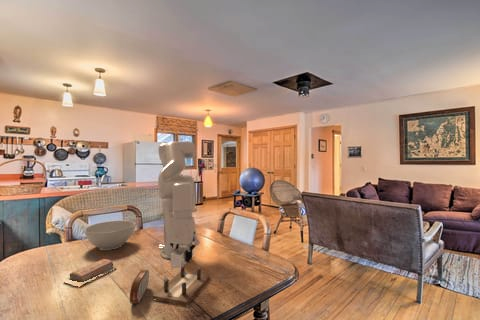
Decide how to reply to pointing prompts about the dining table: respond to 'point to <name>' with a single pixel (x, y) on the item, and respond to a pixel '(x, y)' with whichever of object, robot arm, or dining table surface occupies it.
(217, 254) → the dining table surface
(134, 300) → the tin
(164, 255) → the robot arm
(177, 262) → the steel bar
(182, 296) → the peg stand
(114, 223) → the decorative bowl
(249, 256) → the dining table surface
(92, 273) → the packaged product
